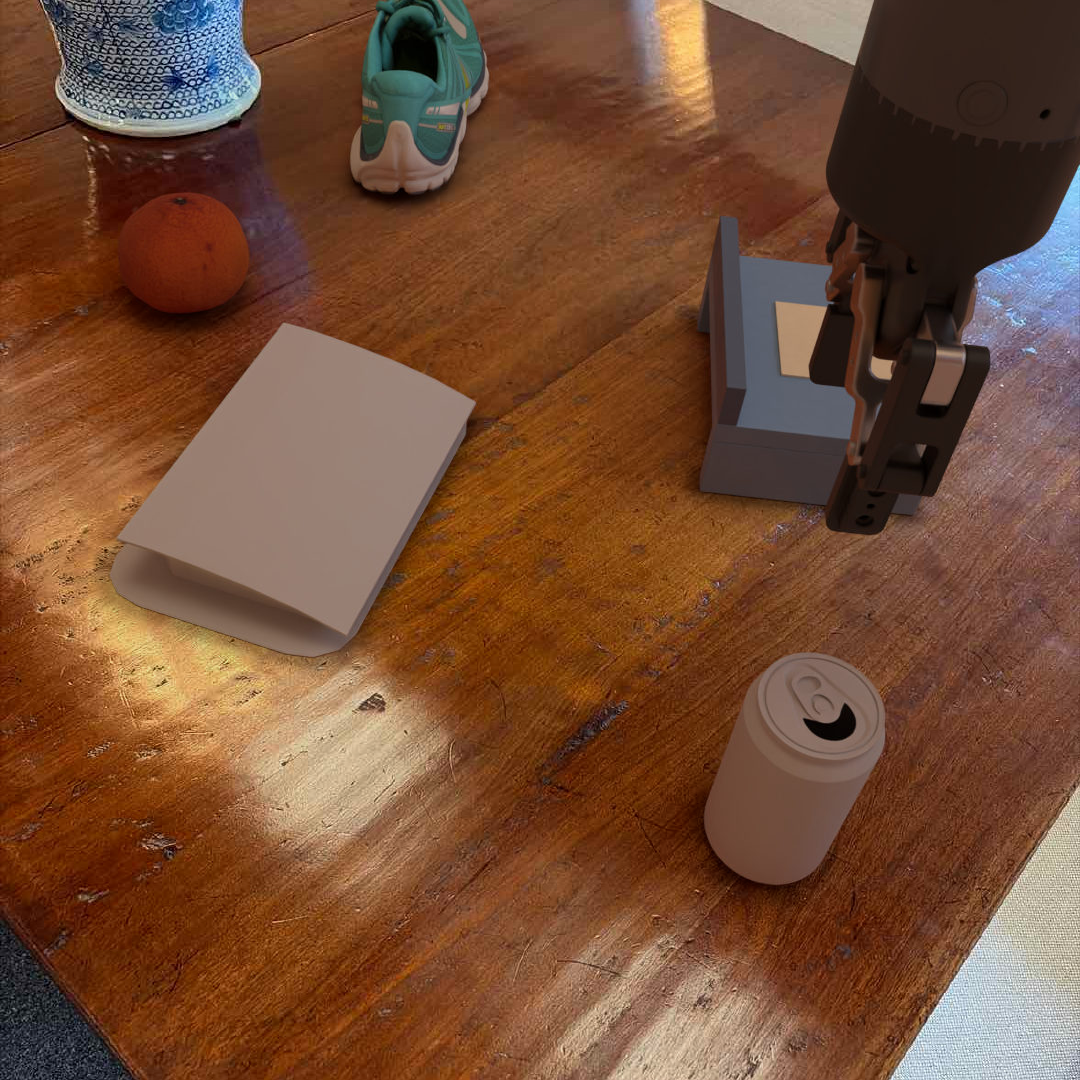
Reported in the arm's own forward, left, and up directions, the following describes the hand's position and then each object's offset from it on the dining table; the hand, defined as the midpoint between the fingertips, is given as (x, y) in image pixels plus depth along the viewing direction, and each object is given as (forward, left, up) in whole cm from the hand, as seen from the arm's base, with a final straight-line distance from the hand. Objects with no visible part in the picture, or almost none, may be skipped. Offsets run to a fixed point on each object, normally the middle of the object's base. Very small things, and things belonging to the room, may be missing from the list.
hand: (840, 449), depth 48 cm
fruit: (+39, -33, -22) cm, 55 cm away
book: (+27, -15, -22) cm, 38 cm away
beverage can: (-1, +5, -22) cm, 23 cm away
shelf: (-5, -28, -22) cm, 36 cm away
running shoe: (+26, -61, -22) cm, 69 cm away
